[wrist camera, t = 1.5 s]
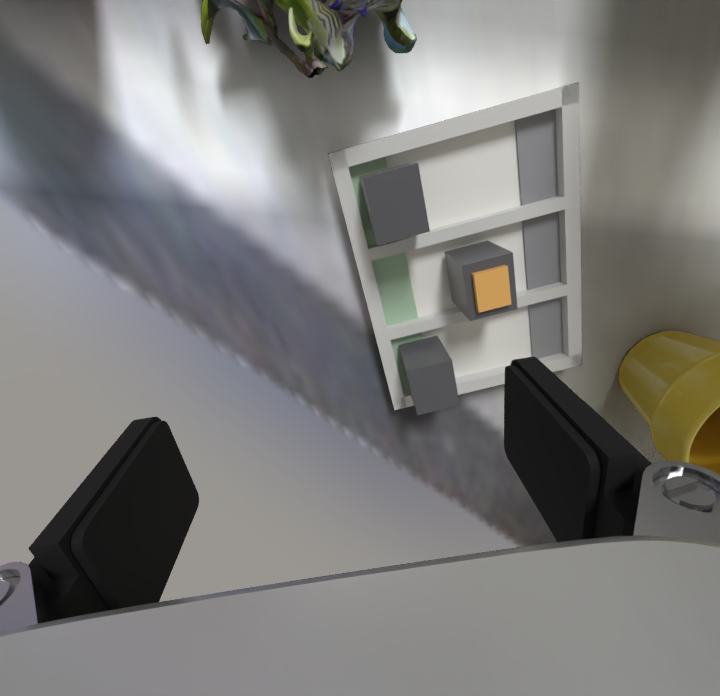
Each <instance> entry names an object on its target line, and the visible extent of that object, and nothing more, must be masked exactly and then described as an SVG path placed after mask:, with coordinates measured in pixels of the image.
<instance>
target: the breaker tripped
mask: <svg viewBox="0 0 720 696" xmlns="http://www.w3.org/2000/svg"><path fill="white" fill-rule="evenodd" d="M444 253H445V259H446V265H447V271H448V278H449V284H450V290H451V296H452V301H453V302H454V303H455V304H456V306H457V307H458V308H459V309H460V310H461V311H462V313H463V314H464V315H465V316H466V317H467V318H468V320H469V321H473V320H477V319H481V318H485V317H489V316H493V315H497V314H501V313H505V312H509V311H513V310H517V309H518V307H517V296H516V284H515V272H514V260H513V252H511V251H509V250H507V249H505V248H502V247H500V246H498V245H496V244H494V243H492V242H490V241H488V240H487V241H483V242H480V243H476V244H472V245H468V246H465V247H461V248H457V249H453V250H449V251H446V252H444Z"/></svg>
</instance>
